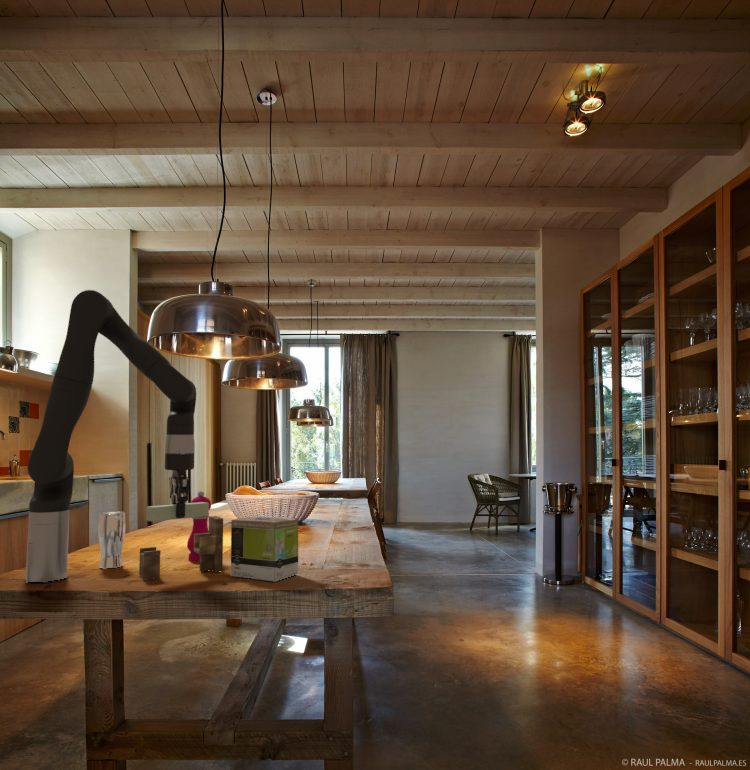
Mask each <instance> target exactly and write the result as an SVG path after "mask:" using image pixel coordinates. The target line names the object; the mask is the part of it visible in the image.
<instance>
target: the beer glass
mask: <svg viewBox="0 0 750 770" xmlns="http://www.w3.org/2000/svg"><path fill="white" fill-rule="evenodd" d="M126 522H127V521H126V512H125V511H122V510H121V511H120V510H119V511H118V510H116V511H115V510H114V511H103V512H99V520H98V527H97V528H98V530H97V531H98V532H97V533H98V541H99V546H100V547H99V548H100V560H99V565H98V569H99V568H105V569H104V570H107V569H106V568H116V567H120V568H122V567H124V565H123V558H122V550H123V545H124V540H125V536H126V525H127V524H126ZM121 566H122V567H121ZM116 569H117V568H116Z"/></svg>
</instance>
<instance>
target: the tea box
mask: <svg viewBox="0 0 750 770" xmlns="http://www.w3.org/2000/svg"><path fill="white" fill-rule="evenodd" d="M230 521H231V531H230V536H231V537H230V577H237V578H242V577H243V578H244V579H250V578H251V580H260V581H266V582H267V581H268V582H274V583H276V582H280V581H283V580H282V579H284V580H286V579H285V578H287V579H289V578H288V577H291V576H294V575H296V574H299V518H296V517H277V516H276V517H275V516H256V515H255V516H249V517H243V518H234V519H231V520H230ZM294 577H295V576H294ZM291 578H292V577H291ZM279 580H280V581H279Z"/></svg>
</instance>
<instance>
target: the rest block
mask: <svg viewBox="0 0 750 770" xmlns="http://www.w3.org/2000/svg"><path fill="white" fill-rule="evenodd" d="M161 553H162V552H161V550H160V549H159V550H157V546H151V547H140V548H139V563H138V565H139V566H138V567H139V569H138V571H139V573H138V576H139V575H140V576H139V578H140V579H141V578H142V579H143V580H142V579H141V580H142V581H145V580H144V579H151V580H154V579H153V578H160V576H161V574H160V573H161Z"/></svg>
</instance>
